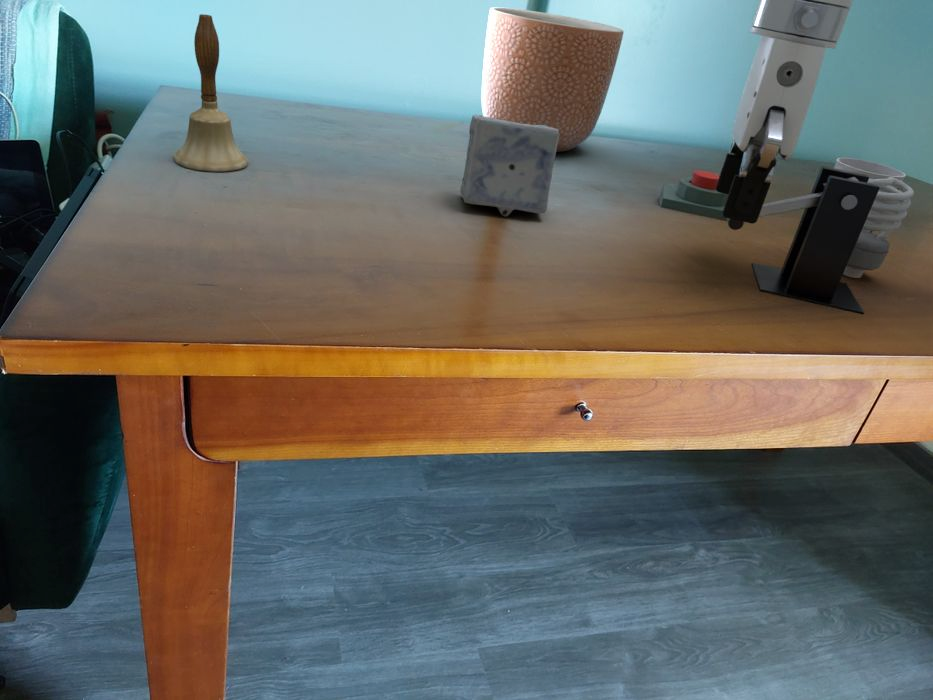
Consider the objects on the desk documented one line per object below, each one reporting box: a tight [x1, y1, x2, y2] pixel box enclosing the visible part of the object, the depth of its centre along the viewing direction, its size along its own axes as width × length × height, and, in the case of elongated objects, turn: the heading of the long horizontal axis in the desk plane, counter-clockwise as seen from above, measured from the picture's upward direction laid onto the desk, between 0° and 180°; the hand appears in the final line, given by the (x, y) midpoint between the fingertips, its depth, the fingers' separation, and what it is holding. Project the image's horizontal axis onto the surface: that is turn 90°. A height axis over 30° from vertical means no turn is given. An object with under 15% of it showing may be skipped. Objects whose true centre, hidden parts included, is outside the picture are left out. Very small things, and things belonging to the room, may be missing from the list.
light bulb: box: [842, 177, 915, 279], centre depth 80 cm, size 6×6×12 cm
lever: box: [726, 177, 858, 231], centre depth 72 cm, size 12×5×2 cm, turn 76°
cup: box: [833, 157, 907, 234], centre depth 94 cm, size 8×8×10 cm
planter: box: [481, 6, 624, 153], centre depth 116 cm, size 21×21×19 cm
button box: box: [658, 176, 728, 222], centre depth 97 cm, size 10×8×4 cm
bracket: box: [751, 165, 880, 315], centre depth 73 cm, size 10×8×13 cm
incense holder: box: [459, 114, 559, 217], centre depth 85 cm, size 10×8×10 cm
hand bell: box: [173, 13, 249, 173], centre depth 83 cm, size 8×8×16 cm
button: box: [691, 170, 720, 190], centre depth 96 cm, size 4×4×2 cm
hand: (734, 206), depth 74 cm, fingers open, 9 cm apart
